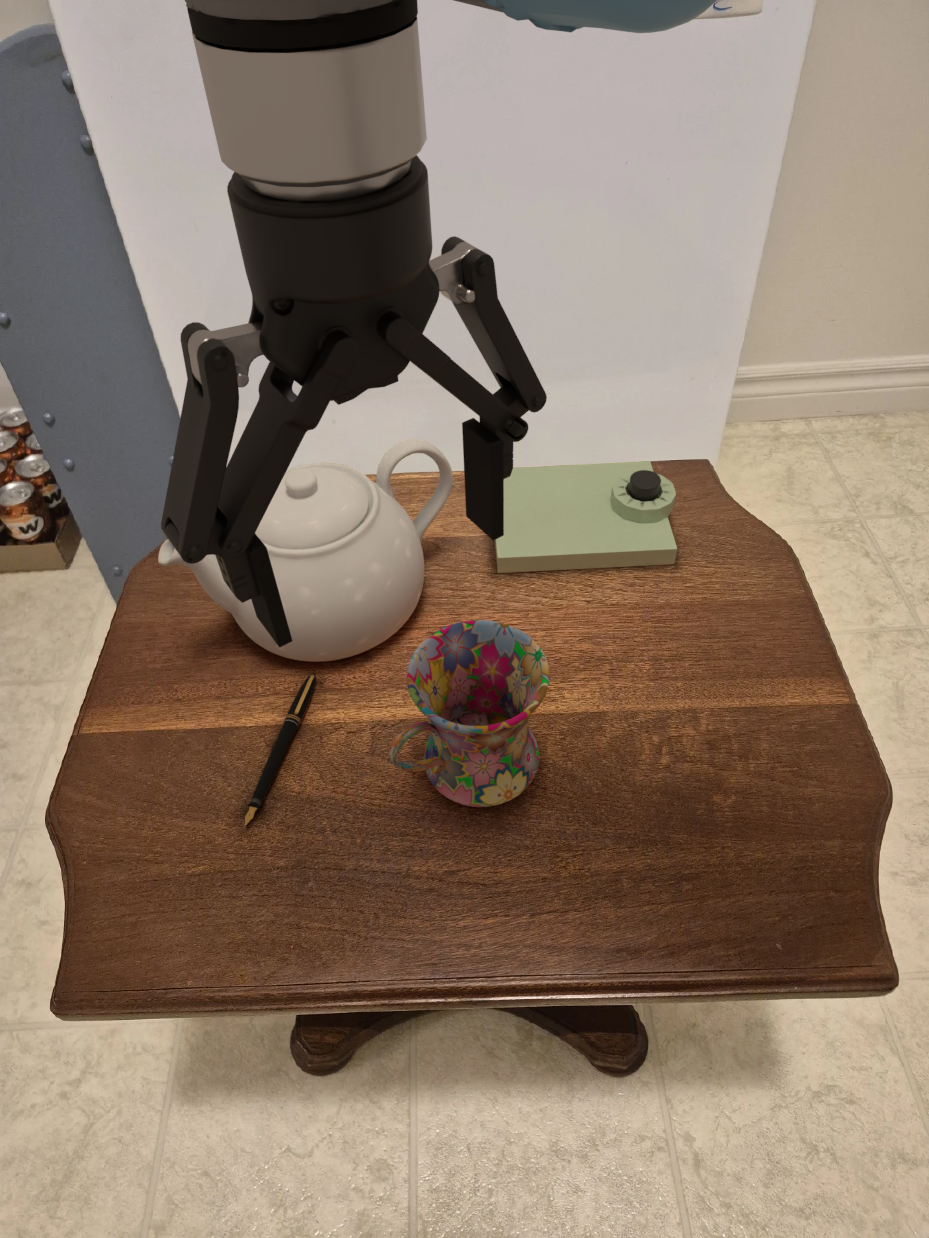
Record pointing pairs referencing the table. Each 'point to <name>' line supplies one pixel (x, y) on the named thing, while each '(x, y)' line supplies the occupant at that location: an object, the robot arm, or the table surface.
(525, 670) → the mug
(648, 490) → the button
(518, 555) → the scale
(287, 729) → the fountain pen
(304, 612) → the teapot
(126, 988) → the table surface
